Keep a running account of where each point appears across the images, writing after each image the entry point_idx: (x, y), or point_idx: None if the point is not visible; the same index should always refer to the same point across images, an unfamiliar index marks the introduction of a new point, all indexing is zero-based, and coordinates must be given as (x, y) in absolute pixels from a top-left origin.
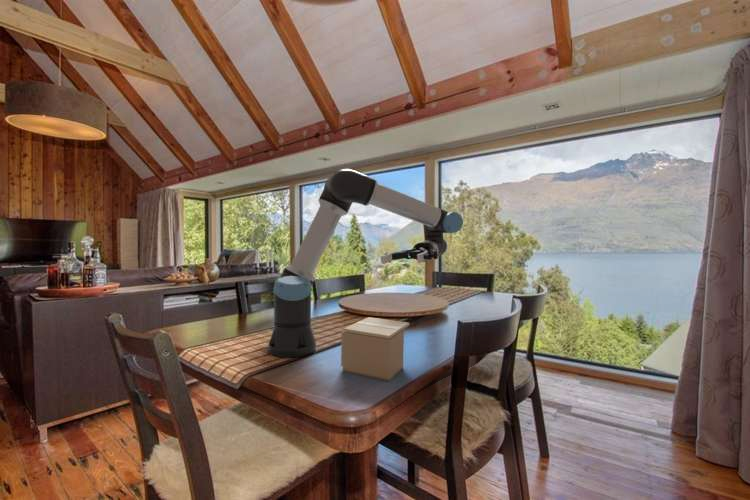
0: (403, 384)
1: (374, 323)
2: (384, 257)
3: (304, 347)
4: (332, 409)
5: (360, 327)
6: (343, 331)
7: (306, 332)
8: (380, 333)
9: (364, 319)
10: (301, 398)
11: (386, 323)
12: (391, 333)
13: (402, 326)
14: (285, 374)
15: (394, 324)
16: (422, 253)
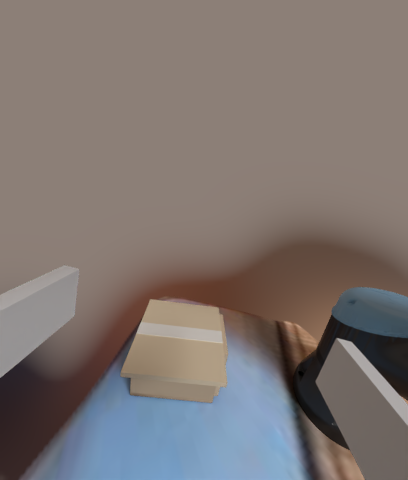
0: (127, 347)
1: (190, 338)
2: (346, 369)
3: (297, 374)
4: (180, 298)
5: (201, 316)
6: (221, 316)
7: (313, 369)
8: (164, 303)
9: (222, 359)
10: (209, 303)
11: (170, 348)
12: (149, 306)
13: (135, 340)
14: (256, 330)
15: (153, 347)
16: (7, 291)
